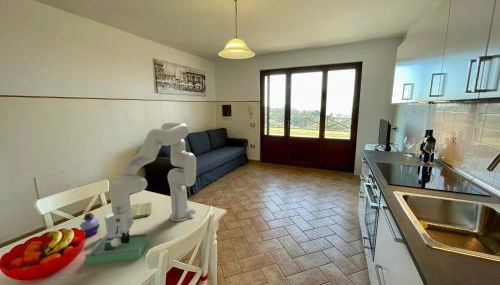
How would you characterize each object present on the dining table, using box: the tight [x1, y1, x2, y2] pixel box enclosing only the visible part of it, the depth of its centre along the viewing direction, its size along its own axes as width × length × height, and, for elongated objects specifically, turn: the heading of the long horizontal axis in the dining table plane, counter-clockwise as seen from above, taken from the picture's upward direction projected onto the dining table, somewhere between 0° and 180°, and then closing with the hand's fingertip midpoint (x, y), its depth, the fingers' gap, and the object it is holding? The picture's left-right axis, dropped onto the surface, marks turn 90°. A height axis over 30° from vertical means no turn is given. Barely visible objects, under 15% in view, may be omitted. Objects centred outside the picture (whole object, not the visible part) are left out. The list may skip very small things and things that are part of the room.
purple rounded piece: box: [79, 212, 100, 238], centre depth 114 cm, size 9×9×12 cm
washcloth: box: [131, 201, 152, 219], centre depth 138 cm, size 13×18×3 cm
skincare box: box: [104, 212, 118, 237], centre depth 113 cm, size 6×4×12 cm
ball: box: [111, 238, 121, 247], centre depth 98 cm, size 4×4×4 cm
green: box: [84, 232, 149, 266], centre depth 99 cm, size 22×12×6 cm, turn 100°
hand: (125, 242), depth 100 cm, fingers closed
